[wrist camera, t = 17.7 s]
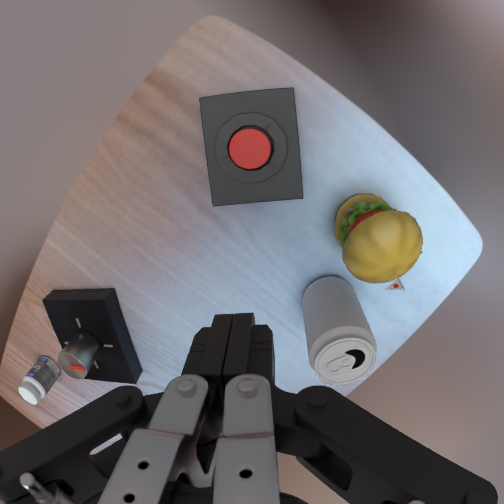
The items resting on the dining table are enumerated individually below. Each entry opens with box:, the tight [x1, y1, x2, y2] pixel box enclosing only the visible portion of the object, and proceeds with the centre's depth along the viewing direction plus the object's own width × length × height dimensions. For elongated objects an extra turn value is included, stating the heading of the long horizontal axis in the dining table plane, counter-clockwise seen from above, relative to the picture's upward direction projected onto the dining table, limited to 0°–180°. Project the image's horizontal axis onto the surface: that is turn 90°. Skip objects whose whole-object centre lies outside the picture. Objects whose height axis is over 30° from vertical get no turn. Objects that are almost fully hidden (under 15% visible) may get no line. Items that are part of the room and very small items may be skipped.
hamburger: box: [335, 194, 423, 290], centre depth 29 cm, size 8×7×12 cm
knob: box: [58, 331, 101, 379], centre depth 37 cm, size 4×4×5 cm
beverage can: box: [302, 276, 376, 385], centre depth 32 cm, size 6×6×12 cm
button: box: [229, 128, 271, 169], centre depth 28 cm, size 4×4×2 cm
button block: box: [199, 88, 303, 206], centre depth 30 cm, size 11×9×4 cm
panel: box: [42, 288, 142, 384], centre depth 41 cm, size 14×11×3 cm
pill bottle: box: [19, 356, 60, 405], centre depth 42 cm, size 5×5×8 cm
